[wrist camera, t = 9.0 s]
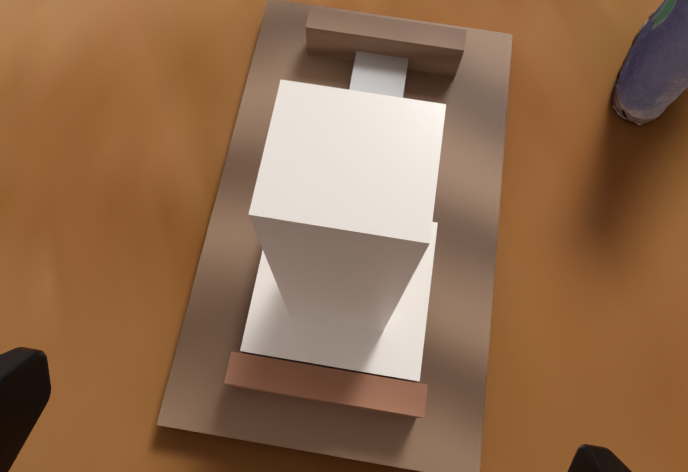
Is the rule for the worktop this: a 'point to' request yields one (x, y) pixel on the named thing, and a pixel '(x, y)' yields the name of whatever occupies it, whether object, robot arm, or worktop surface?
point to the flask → (654, 65)
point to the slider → (345, 230)
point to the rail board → (448, 265)
